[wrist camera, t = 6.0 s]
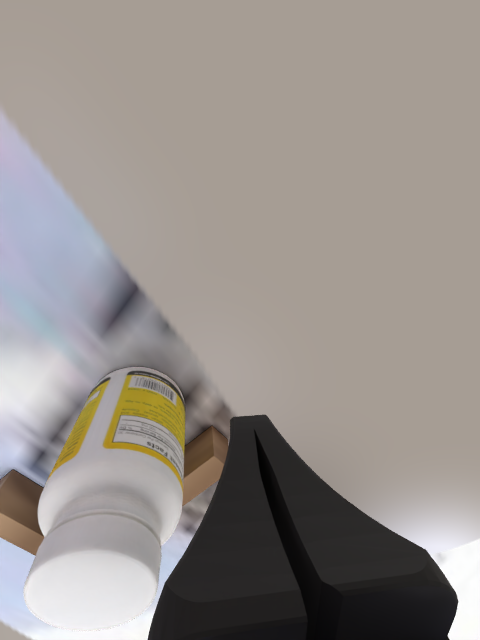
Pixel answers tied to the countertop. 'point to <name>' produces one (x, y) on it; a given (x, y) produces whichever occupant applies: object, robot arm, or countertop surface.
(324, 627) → the robot arm
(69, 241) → the countertop surface
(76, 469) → the supplement bottle
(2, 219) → the countertop surface
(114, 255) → the countertop surface
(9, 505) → the wooden l-shaped block
